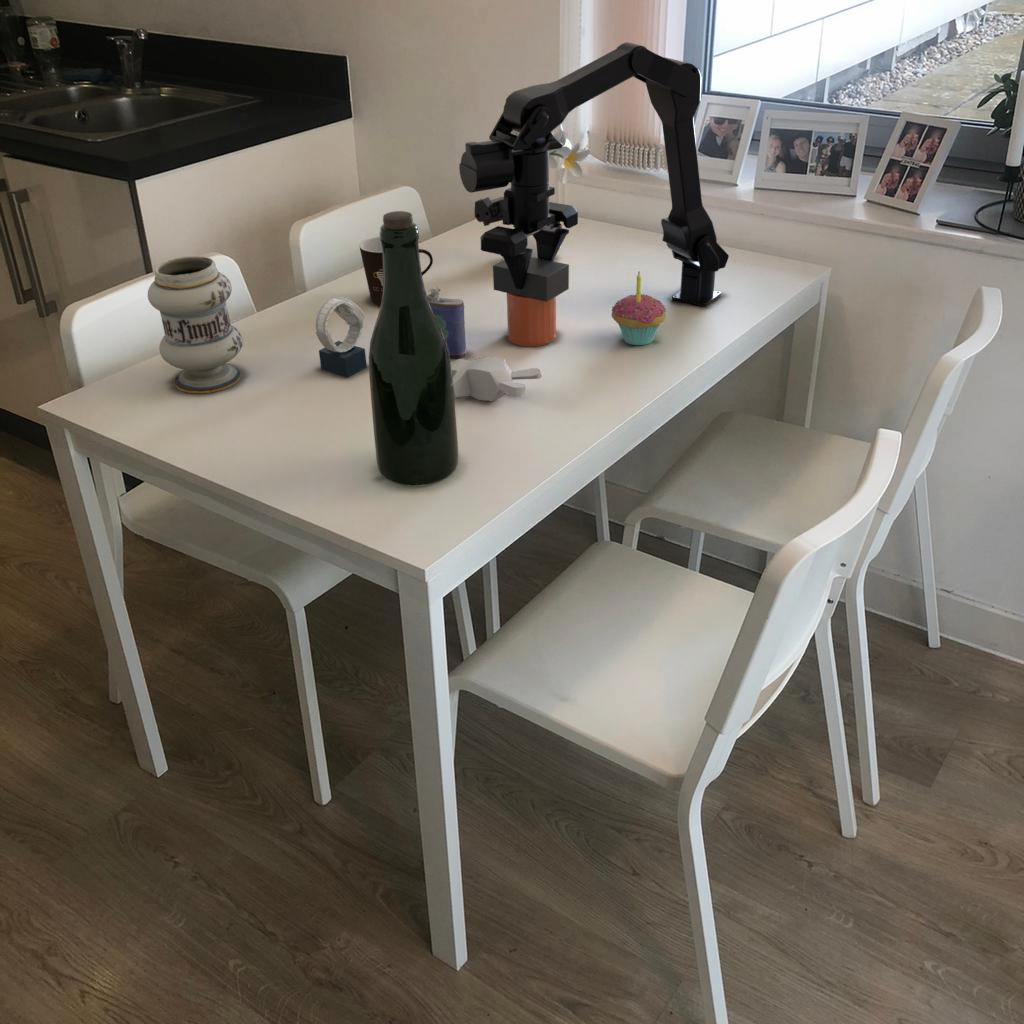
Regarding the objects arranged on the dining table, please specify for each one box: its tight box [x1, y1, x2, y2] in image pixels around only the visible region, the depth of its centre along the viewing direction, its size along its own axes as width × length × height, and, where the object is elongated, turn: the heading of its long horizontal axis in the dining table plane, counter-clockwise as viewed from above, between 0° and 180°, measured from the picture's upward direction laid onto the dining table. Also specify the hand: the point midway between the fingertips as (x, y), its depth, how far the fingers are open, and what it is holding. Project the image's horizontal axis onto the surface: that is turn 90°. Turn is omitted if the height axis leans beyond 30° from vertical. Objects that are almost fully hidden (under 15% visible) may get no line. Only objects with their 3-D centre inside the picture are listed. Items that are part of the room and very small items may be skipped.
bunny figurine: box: [451, 356, 543, 402], centre depth 155 cm, size 10×5×15 cm
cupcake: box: [611, 271, 667, 346], centre depth 168 cm, size 9×8×12 cm
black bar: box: [492, 257, 570, 302], centre depth 168 cm, size 6×10×4 cm, turn 55°
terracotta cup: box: [506, 293, 557, 347], centre depth 171 cm, size 8×8×8 cm
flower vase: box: [511, 123, 591, 258], centre depth 198 cm, size 13×18×25 cm
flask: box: [427, 286, 467, 359], centre depth 166 cm, size 9×3×11 cm, turn 68°
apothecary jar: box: [147, 255, 244, 395], centre depth 158 cm, size 12×12×18 cm
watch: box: [315, 296, 368, 378], centre depth 162 cm, size 6×8×11 cm
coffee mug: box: [358, 236, 434, 307], centre depth 185 cm, size 12×9×10 cm
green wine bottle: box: [368, 210, 459, 487], centre depth 129 cm, size 10×10×33 cm
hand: (531, 282), depth 168 cm, fingers closed on black bar, 6 cm apart
